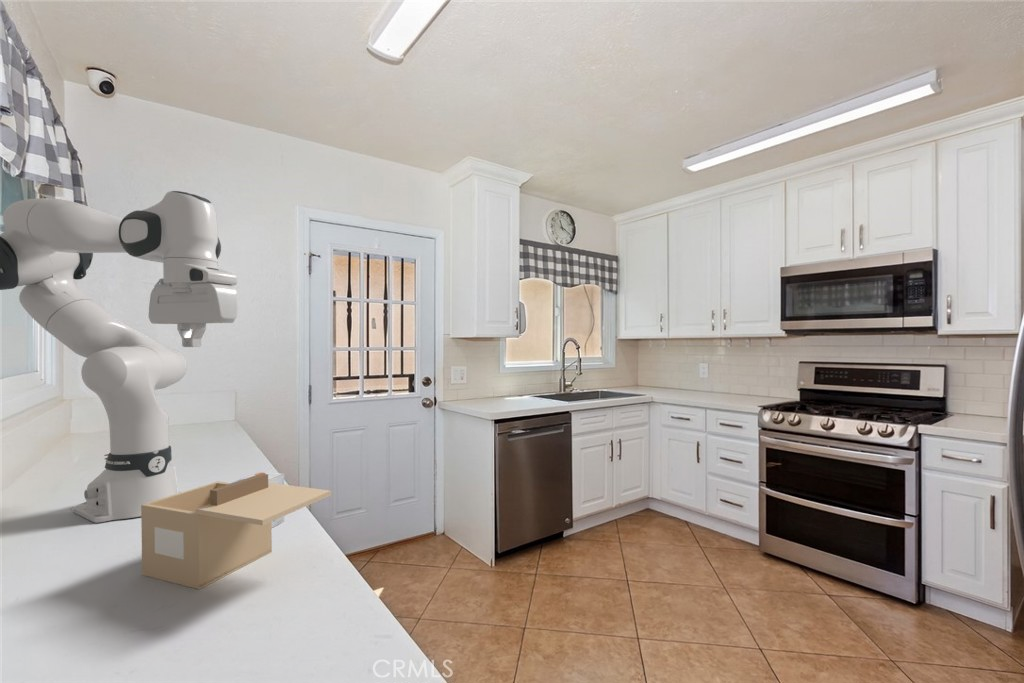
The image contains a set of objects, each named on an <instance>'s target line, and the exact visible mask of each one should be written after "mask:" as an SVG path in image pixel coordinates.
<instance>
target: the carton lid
mask: <svg viewBox="0 0 1024 683" xmlns="http://www.w3.org/2000/svg"><path fill="white" fill-rule="evenodd" d="M239 480H240V479H239ZM236 481H237V480H236ZM233 482H234V481H233ZM230 483H231V484H228V485H224V486H221V487H218V488H215V489H212V490H210V504H208V505H205V506H202V507H200V508H197V509H195V514H199V515H205V516H211V517H216V518H222V519H228V520H234V521H239V522H245V523H251V524H257V525H262V526H263V525H265V524H267V523H269V522H272V521H274V520H276V519H278V518H281V517H283V516H284V517H285V516H288V515H290V514H291V513H294V512H296V511H298V510H301V509H303V508H305V507H308V506H310V505H312V504H314V503H316V502H319V501H321V500H323V499H326V498H327V497H329V496H330V497H331V496H332V490H327V489H322V488H321V489H320V488H314V487H306V486H297V485H291V484H290V485H289V484H284V485H283V484H275V483H268V474H259V475H256V476H252V477H249V478H246V479H243V480H240V481H237V482H234V483H232V482H230Z"/></svg>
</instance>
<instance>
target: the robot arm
mask: <svg viewBox="0 0 1024 683" xmlns="http://www.w3.org/2000/svg"><path fill="white" fill-rule="evenodd" d="M2 222H3V225H4V229H5V230H4V232H2V233H0V291H5V290H11V289H12V290H13V289H16V288H17V287H22V286H24V287H23V288H22V289H21V290H20V293H19V296H18V299H19V302H20V304H21V306H22V308H23V309H24V310H25V311H26V312H27V314H28V315H30V317H31V318H32V319H33V320H34V321H35V322H36V323H37V324H38V325H40V327H41V328H43V329H44V330H45V331H46V332H48V333H49V334H50V335H51V336H52V337H54V338H55V339H57V340H58V341H59V342H61V343H62V344H63V345H64V346H65V347H67V348H68V349H69V350H70V351H72V352H73V353H74V354H76V355H78V356H80V357H83V358H86V359H85V360H84V362H83V364H82V366H81V375H80V376H81V378H82V381H83V383H84V385H85V386H86V387H87V388H88V389H89V390H90V391H92V392H94V393H95V394H96V395H97V396H98V397H99V399H100V401H101V402H102V405H103V407H104V409H105V413H106V416H107V418H108V426H109V447H110V450H109V451H110V452H109V453H108V454H104V457H105V458H104V460H105V465H104V468H105V469H104V470H103V471H102V472H101V473H100V474H99V475H98V476H96V478H94V479H93V480H92V481H91V482H90V483H88V485H87V487H86V489H85V490H84V492H83V493H84V494H83V495H84V499H85V500H86V501H85V502H82V503H80V504H77V505H75V506H73V507H72V512H74V514H77V515H79V516H81V517H83V518H85V519H87V520H88V521H91V522H92V523H96V524H98V523H103V522H104V523H105V522H109V521H116V520H125V519H132V518H133V519H134V518H138V517H141V505H143V504H146V503H149V502H153V501H156V500H159V499H162V498H166V497H169V496H172V495H175V494H179V493H182V492H183V491H179V489H178V480H177V473H176V466H175V465H173V464H172V463H171V461H172V455H173V451H172V446H171V445H170V433H169V432H170V420H169V414H168V413H167V412H166V411H165V410H164V409H162V407H161V406H160V404H159V402H158V400H157V396H156V393H155V392H156V391H155V390H162V389H165V388H169V387H170V386H172V385H174V384H177V383H178V382H179V381H181V380H182V379H183V378H184V377H185V375H186V373H187V370H188V364H187V360H186V358H185V356H184V355H183V354H182V353H181V352H180V351H178V350H175V349H173V348H170V347H168V346H166V345H164V344H162V343H160V342H158V341H156V340H154V339H152V338H151V337H149V336H147V335H146V334H144V333H142V332H140V331H138V330H136V329H134V328H132V327H130V326H129V325H127V324H126V323H124V322H123V321H121V320H120V319H118V318H117V317H116V316H114V315H113V314H112V313H110V312H109V311H107V310H106V308H104V307H103V306H101V304H99V303H97V301H95V300H94V299H92V298H91V297H90V296H88V295H87V294H86V293H84V292H83V291H81V289H79V287H77V285H76V284H75V280H82V279H84V278H85V277H86V275H87V270H88V269H89V268H90V266H91V264H92V261H93V257H94V254H100V253H101V254H103V253H104V254H105V253H107V254H108V253H111V254H112V253H119V254H120V253H127V254H128V255H129V256H131V257H134V258H137V259H140V260H143V261H149V262H156V263H161V264H162V266H163V267H162V269H163V270H162V271H163V273H162V274H163V276H162V278H160V279H158V281H157V282H156V283H155V284H154V286H153V288H152V290H151V292H150V296H149V306H148V320H149V321H150V323H151V324H154V325H155V324H156V325H177V331H178V333H179V335H180V337H181V342H182V343H181V346H182V347H183V348H200V347H202V339H203V336H204V335H205V332H206V330H207V324H233V323H235V321H236V319H237V318H238V317H237V316H238V292H237V290H236V288H235V286H236V285H237V284H238V276H237V274H235V273H232V272H228V271H226V270H223V269H221V268H219V260H218V259H219V257H220V255H221V253H222V252H221V251H222V244H221V241H220V238H219V235H218V234H219V229H218V218H217V213H216V208H215V205H214V204H213V202H211V201H210V199H208V198H206V197H203V196H200V195H197V194H194V193H188V192H186V191H181V190H180V191H179V190H172V191H168V192H166V193H165V194H164V196H163V198H162V200H160V201H159V202H158V203H156V204H154V205H152V206H150V207H147V208H145V209H142V210H133V211H131V212H130V213H128V214H126V215H125V216H124V217H123V218H122V217H119V216H116V215H114V214H111V213H108V212H105V211H103V210H100V209H97V208H94V207H91V206H88V205H86V204H83V203H79V202H76V201H71V200H66V199H62V198H61V199H60V198H48V197H47V198H46V197H45V198H44V197H43V198H42V197H41V198H30V199H29V198H28V199H22V200H19V201H15V202H13V203H11V204H10V205H8V206H7V208H6V209H5V210H4V212H3V215H2ZM106 456H107V457H106Z"/></svg>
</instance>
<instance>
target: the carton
mask: <svg viewBox="0 0 1024 683" xmlns="http://www.w3.org/2000/svg"><path fill="white" fill-rule="evenodd" d="M231 483H232V482H224V481H215V482H211V483H209V484H206V485H205V484H204V485H201V486H198V487H194V488H192V489H189V490H186V491H181V492H182V493H179V494H175V495H172V496H169V497H166V498H162V499H159V500H156V501H153V502H149V503H146V504H143V505H141V516H140V517H141V522H140V524H141V526H140V527H141V575H142V576H145V577H149V578H153V579H157V580H161V581H166V582H169V583H173V584H177V585H182V586H185V587H190V588H194V589H197V590H202V589H203V588H204V587H207V586H209V585H210V584H212V583H214V582H216V581H218V580H220V579H222V578H224V577H226V576H228V575H230V574H232V573H234V572H236V571H237V570H240V569H241V568H243V567H246V566H247V565H249V564H251V563H253V562H255V561H257V560H259V559H261V558H262V557H265V556H267V555H269V554H270V553H272V552H273V550H272V548H273V545H272V544H273V543H272V542H273V541H272V538H273V536H272V528H271V522H269V523H267V524H265V525H263V526H262V525H257V524H251V523H245V522H239V521H234V520H228V519H222V518H216V517H211V516H205V515H199V514H195V509H197V508H200V507H202V506H205V505H208V504H210V490H212V489H215V488H218V487H221V486H224V485H228V484H231Z"/></svg>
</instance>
